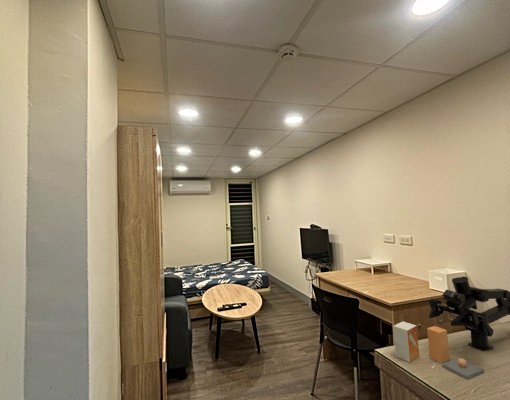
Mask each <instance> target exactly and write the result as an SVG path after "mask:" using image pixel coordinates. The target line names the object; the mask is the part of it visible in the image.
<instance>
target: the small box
mask: <svg viewBox="0 0 510 400" xmlns="http://www.w3.org/2000/svg"><path fill="white" fill-rule="evenodd" d="M392 328H393V329H392V330H393V339H394V340H393V341H394V352H395V353H394V354H395V357H396V358H398V359H400V360H404V361H405V362H409V363H412V362H413V361H414V360H416V359H418V358H419V357H420V348H419V338H418V336H419V335H418V325H416V324H413V323H409V322H406V321H403V320H402V321H400V322H399V323H396V324H394V325H393V326H392Z"/></svg>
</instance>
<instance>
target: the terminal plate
mask: <svg viewBox="0 0 510 400" xmlns="http://www.w3.org/2000/svg"><path fill="white" fill-rule="evenodd" d="M441 367H442V368H443V369H445V370H447V371H450V372H452V373H453V374H456V375H457V376H459V377H462V378H463V379H464V380H470V379H472V378H474V377H478V376H479V375H482V374H484V373H485V369H484V368H482V367H481V366H478V365H476V364H474V363H471V362H469V361H467V360H466V359H464V358H461V357H457V358H454V359H452V360H449V361H446V362H443V363H441Z"/></svg>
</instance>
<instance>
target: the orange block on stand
mask: <svg viewBox="0 0 510 400" xmlns="http://www.w3.org/2000/svg"><path fill="white" fill-rule="evenodd" d="M426 331H427V332H426V333H427V342H428V351H429V358H430V359H433V360H435V361H436V362H438V363H440V364H443V363H446V362H449V361H451V359H450V358H451V355H450V348H449V347H450V346H449V338H448V337H449V336H448V330H447V329H444V328H442V327H439V326H436V325H433V326H430V327H427V328H426Z"/></svg>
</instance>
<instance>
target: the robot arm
mask: <svg viewBox="0 0 510 400" xmlns="http://www.w3.org/2000/svg"><path fill="white" fill-rule="evenodd" d="M451 282H452V285H453V287H454V290H451V289H445V291H444V292H443V293H442V295H441V296H442V297H443V298H444V299H445V300H446V301H444V303H445V304H443V303H442V301H440V300H439V299H435V298H430V299H429V300H428V303H429V307H430V312H429V315H428V318H430V319H432V318H434V319H435V318H436V317H440V316H441V315H443V314H444V312H447V313H449V316H450V315H451V316H454V317H455V318H454V319H453V320H451V322H450V326H451V327H452V326H453V327H458V326H460V327H462V326H464V329H465V330H466V331H470V341H471V342H468V345H469V346H471V347H473V348H477V349H479V350H481V351H488V350H490V349H493V345H490V344H489V337H492V336H493V335H494V329H493V328H492V327H491V325H490V324H492V323H494V322H496V321H498V320H500V319H503V318H504V317H507V316H510V291H509V290H507V289H504V288H503V289H502V288H479V287H474V286H471V285H470V282H469V278H468V277H467V276H458V277H453V278H452V279H451ZM494 299H495V302H496V304H497V305H495V306H493V307H490V308H488V309H487V310H484V311H482V312H479V311H476V310H478V306H477V302H479V303H486V302H489V300H494Z"/></svg>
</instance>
